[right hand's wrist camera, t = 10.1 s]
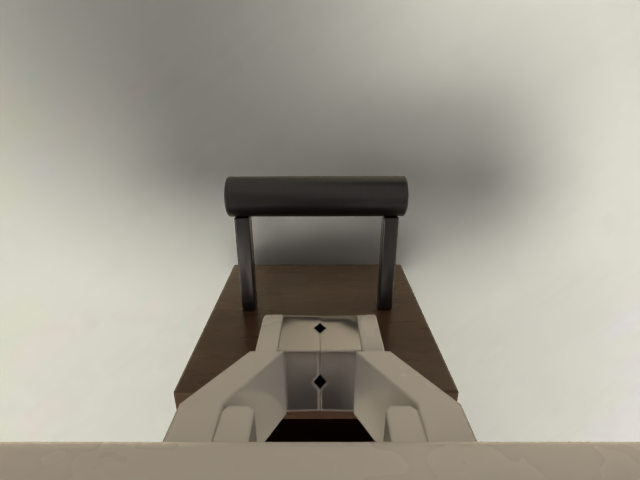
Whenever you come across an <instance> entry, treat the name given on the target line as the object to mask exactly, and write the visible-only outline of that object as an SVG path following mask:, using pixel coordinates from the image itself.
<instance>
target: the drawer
mask: <svg viewBox="0 0 640 480" xmlns="http://www.w3.org/2000/svg"><path fill="white" fill-rule="evenodd" d="M224 200H225V207H226V211H227V214H228V215H229V216H236V217H235V219H234V220H235V231H236V242H237V254H238V265H235V266H234V268H233V270H232V272H231V274H230V276H229V278H228V280H227V282H226V284H225V286H224V288H223V290H222V293H221V295H220V297H219V299H218V301H217V303H216V305H215V307H214V309H213V311H212V313H211V316H210V318H209V320H208V322H207V324H206V326H205V328H204V330H203V332H202V334H201V336H200V338H199V341H198V343H197V345H196V347H195V349H194V351H193V353H192V355H191V357H190V359H189V361H188V364H187V366H186V368H185V370H184V372H183V374H182V376H181V378H180V380H179V382H178V384H177V386H176V389H175V391H174V397H175V403H176V408H177V409H178V407H179V405H180V403H182V402H183V401H184V400H186V399H187V398H188V397H190V396H191V395H192V394H194V393H195V392H196V391H198V390H199V389H200V388H202V387H203V386H204V385H206V384H207V383H208V382H210V381H211V380H212V379H214V378H215V377H216V376H218V375H219V374H220V373H222V372H223V371H224V370H226V369H227V368H228V367H230V366H231V365H232V364H234V363H235V362H236V361H238V360H239V359H240V358H242V357H243V356H244V355H246V354H247V353H248V352H250V351H255V350H256V346H257V342H258V338H259V334H260V330H261V326H262V322H263V318H264V316H265V315H318V316H345V315H372V314H374V315H375V316H376V318H377V322H378V326H379V330H380V334H381V338H382V342H383V346H384V350H385V351H390V352H392V353H393V354H394V355H396V356H397V357H398V358H400V359H401V360H402V361H404V362H405V363H406V364H408V365H409V366H410V367H412V368H413V369H414V370H416V371H417V372H418V373H420V374H421V375H422V376H424V377H425V378H426V379H427V380H429V381H430V382H431V383H433V384H434V385H435V386H437V387H438V388H439V389H441V390H442V391H443V392H445V393H446V394H447V395H449V396H450V397H451V398H453V399H454V400H455V401H457V398H458V390H457V387H456V385H455V383H454V381H453V379H452V377H451V374H450V372H449V370H448V368H447V366H446V363H445V361H444V359H443V357H442V355H441V352H440V350H439V348H438V346H437V344H436V342H435V339H434V337H433V335H432V333H431V331H430V328H429V326H428V324H427V322H426V320H425V317H424V315H423V313H422V311H421V309H420V307H419V304H418V302H417V300H416V298H415V296H414V293H413V291H412V289H411V287H410V285H409V282H408V280H407V278H406V276H405V274H404V272H403V269H402V267H401V265H395V259H396V247H397V234H398V221H399V218H398V216H404V215H405V213H406V210H407V206H408V184H407V180H406V178H405V177H404V176H288V177H228V178H227V179H226V183H225V189H224ZM251 216H382V224H381V241H380V257H379V265H255V262H254V247H253V233H252V219H251ZM265 442H375V441H374V439H373V438H372V437H371V435H370V434H369V433H368V431H367V430H366V429H365V428H364V426H363V425H362V424H361V422H360V421H359V420H358V418H357V417H356V416H355V414H354V412H341V411H299V412H286V415H285V416H284V417H283V419H282V420H281V421H280V423H279V424H278V425H277V427H276V428H275V429H274V430H273V432H272V433H271V434H270V436H269V437H268V438H267V440H266V441H265Z"/></svg>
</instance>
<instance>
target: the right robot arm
mask: <svg viewBox="0 0 640 480" xmlns="http://www.w3.org/2000/svg"><path fill="white" fill-rule="evenodd" d="M299 411H341V412H354V414H355V416H356V417H357V418H358V420H359V421H360V422H361V424H362V425H363V426H364V428H365V429H366V430H367V431H368V433H369V434H370V435H371V437H372V438H373V439H374V441H375V442H265V441H266V440H267V438H268V437H269V436H270V434H271V433H272V432H273V430H274V429H275V428H276V427H277V425H278V424H279V423H280V421H281V420H282V419H283V417H284V416H285V415H286V412H299ZM0 480H640V442H477V440H476V438H475V436H474V433H473V431H472V429H471V427H470V424H469V422H468V420H467V418H466V415H465V413H464V411H463V409H462V406H461V404H459V403H458V402H457V401H455V400H454V399H453V398H451V397H450V396H449V395H447V394H446V393H445V392H443V391H442V390H441V389H439V388H438V387H437V386H435V385H434V384H433V383H431V382H430V381H429V380H427V379H426V378H425V377H424V376H422V375H421V374H420V373H418V372H417V371H416V370H414V369H413V368H412V367H410V366H409V365H408V364H406V363H405V362H404V361H402V360H401V359H400V358H398V357H397V356H396V355H394V354H393V353H392V352H390V351H385V350H384V346H383V342H382V338H381V334H380V330H379V326H378V322H377V318H376V316H375V315H374V314H372V315H345V316H318V315H265V316H264V318H263V322H262V326H261V330H260V334H259V338H258V342H257V346H256V350H255V351H250V352H248V353H247V354H246V355H244V356H243V357H242V358H240V359H239V360H238V361H236V362H235V363H234V364H232V365H231V366H230V367H228V368H227V369H226V370H224V371H223V372H222V373H220V374H219V375H218V376H216V377H215V378H214V379H212V380H211V381H210V382H208V383H207V384H206V385H204V386H203V387H202V388H200V389H199V390H198V391H196V392H195V393H194V394H192V395H191V396H190V397H188V398H187V399H186V400H184V401H183V402H182V403H180V405H179V407H178V409H177V411H176V413H175V416H174V418H173V420H172V422H171V425H170V427H169V429H168V431H167V433H166V436H165V438H164V440H163V442H0Z"/></svg>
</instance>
